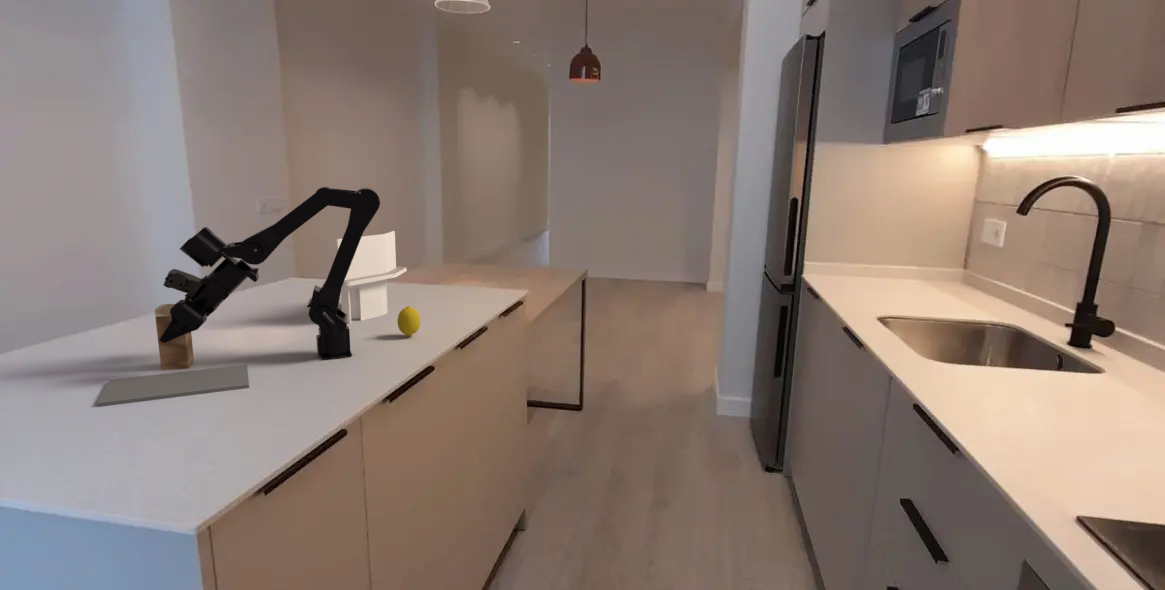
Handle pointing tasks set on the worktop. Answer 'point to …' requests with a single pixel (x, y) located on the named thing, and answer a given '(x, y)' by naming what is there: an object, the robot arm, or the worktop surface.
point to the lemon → (408, 321)
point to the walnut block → (172, 343)
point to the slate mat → (174, 385)
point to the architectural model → (369, 277)
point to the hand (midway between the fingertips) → (167, 335)
